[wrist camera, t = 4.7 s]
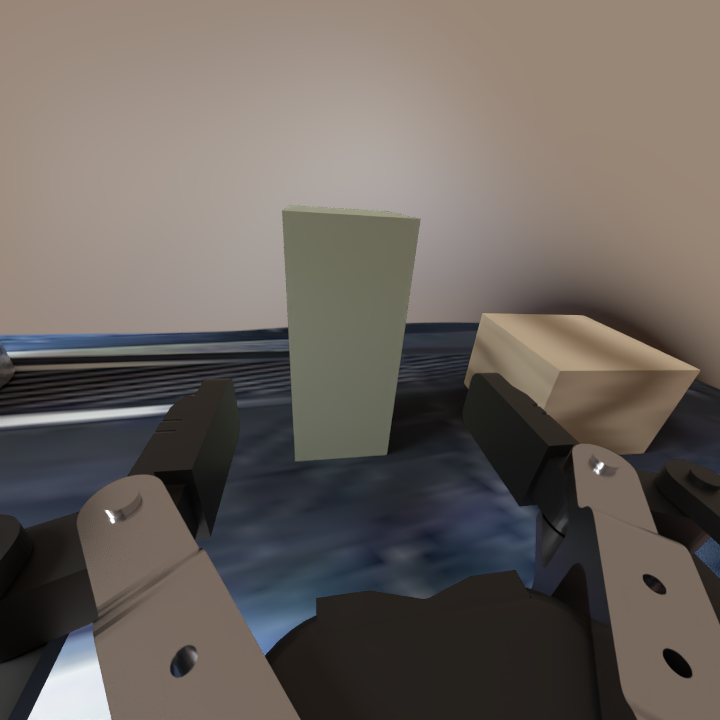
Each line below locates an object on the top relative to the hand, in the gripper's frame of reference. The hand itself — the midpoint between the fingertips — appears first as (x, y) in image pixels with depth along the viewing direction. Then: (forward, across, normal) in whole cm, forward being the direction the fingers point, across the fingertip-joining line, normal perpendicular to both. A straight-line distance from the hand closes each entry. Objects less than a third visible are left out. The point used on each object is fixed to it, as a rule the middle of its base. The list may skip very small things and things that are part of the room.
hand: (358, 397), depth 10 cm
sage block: (+6, 0, +7) cm, 9 cm away
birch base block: (+6, -14, +7) cm, 17 cm away
